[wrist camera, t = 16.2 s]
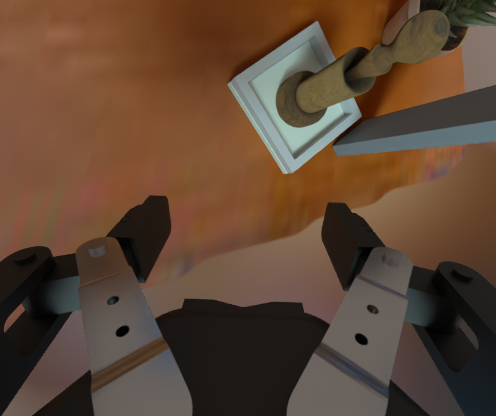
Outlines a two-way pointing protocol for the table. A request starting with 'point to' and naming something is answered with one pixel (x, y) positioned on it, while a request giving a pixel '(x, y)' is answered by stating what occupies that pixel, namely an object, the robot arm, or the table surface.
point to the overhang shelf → (352, 111)
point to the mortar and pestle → (359, 70)
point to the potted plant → (457, 11)
